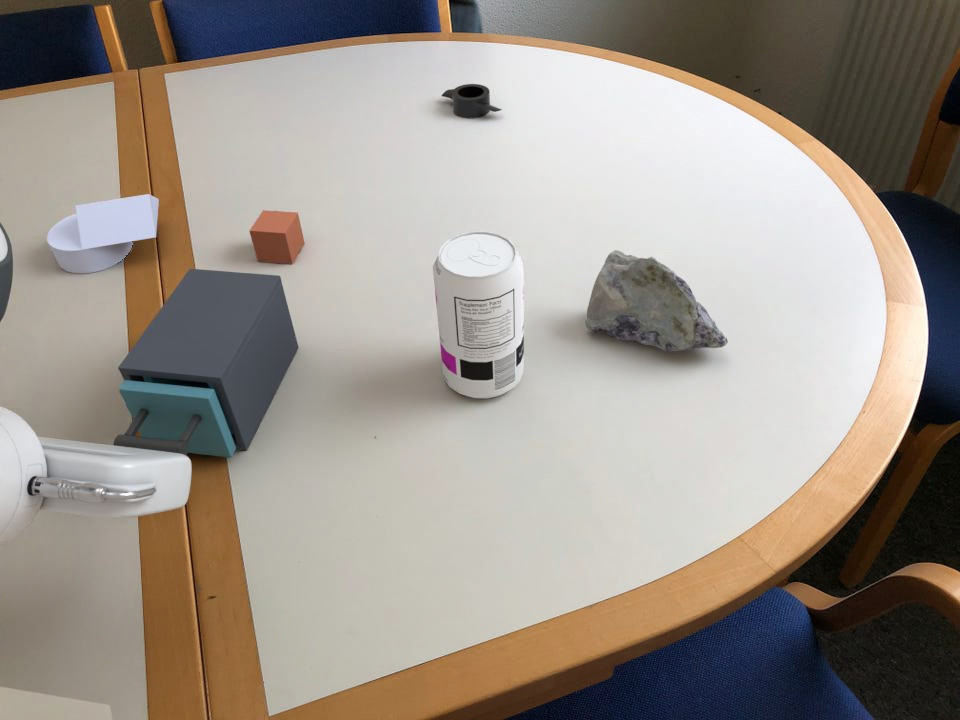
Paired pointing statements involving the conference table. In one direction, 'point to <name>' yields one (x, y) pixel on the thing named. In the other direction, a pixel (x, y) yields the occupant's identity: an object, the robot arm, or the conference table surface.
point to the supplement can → (480, 313)
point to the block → (277, 237)
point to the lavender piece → (102, 232)
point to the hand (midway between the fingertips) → (105, 458)
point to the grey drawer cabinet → (221, 342)
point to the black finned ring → (470, 100)
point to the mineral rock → (649, 306)
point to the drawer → (176, 417)
